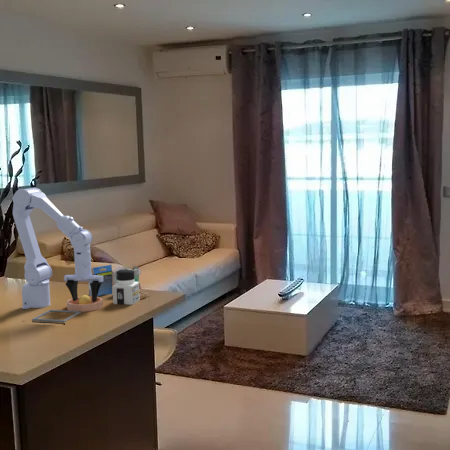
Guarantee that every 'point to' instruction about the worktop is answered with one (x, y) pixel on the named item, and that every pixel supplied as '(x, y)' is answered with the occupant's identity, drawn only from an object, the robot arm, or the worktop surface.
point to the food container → (136, 274)
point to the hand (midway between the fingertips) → (84, 300)
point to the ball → (84, 300)
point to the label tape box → (107, 277)
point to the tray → (55, 320)
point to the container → (126, 288)
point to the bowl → (84, 305)
